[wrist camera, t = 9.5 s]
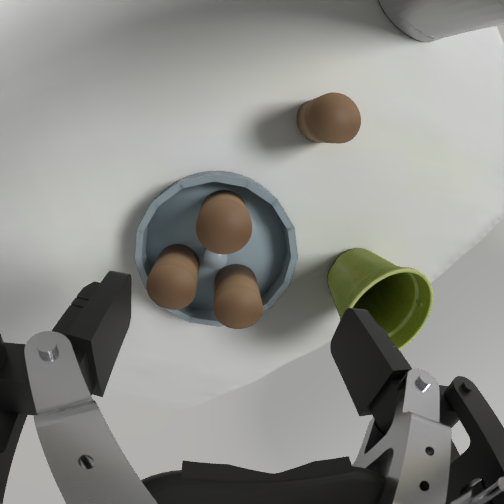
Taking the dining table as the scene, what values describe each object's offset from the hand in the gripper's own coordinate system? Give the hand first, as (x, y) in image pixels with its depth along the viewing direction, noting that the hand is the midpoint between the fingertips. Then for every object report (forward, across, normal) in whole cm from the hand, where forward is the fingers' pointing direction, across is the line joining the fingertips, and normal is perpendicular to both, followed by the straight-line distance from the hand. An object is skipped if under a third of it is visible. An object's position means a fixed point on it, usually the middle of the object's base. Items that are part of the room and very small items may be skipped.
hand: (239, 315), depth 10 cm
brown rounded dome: (+15, 0, 0) cm, 15 cm away
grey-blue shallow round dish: (+16, 0, +4) cm, 17 cm away
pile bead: (+16, -6, -9) cm, 20 cm away
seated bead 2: (+15, -2, +7) cm, 17 cm away
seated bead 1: (+15, +4, +6) cm, 17 cm away
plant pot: (+16, -14, +4) cm, 22 cm away
